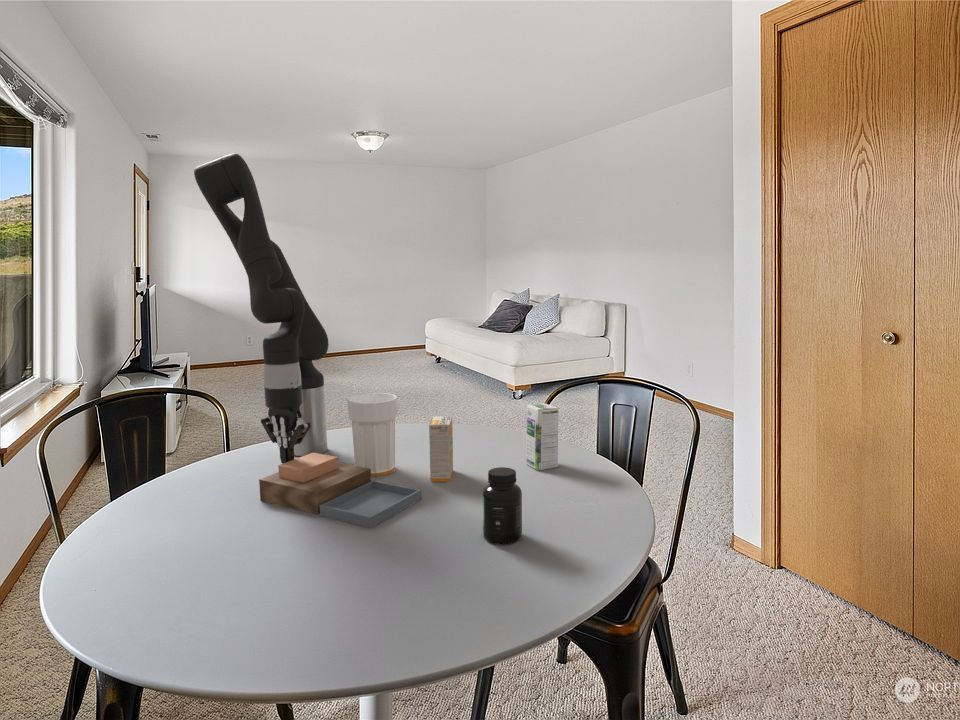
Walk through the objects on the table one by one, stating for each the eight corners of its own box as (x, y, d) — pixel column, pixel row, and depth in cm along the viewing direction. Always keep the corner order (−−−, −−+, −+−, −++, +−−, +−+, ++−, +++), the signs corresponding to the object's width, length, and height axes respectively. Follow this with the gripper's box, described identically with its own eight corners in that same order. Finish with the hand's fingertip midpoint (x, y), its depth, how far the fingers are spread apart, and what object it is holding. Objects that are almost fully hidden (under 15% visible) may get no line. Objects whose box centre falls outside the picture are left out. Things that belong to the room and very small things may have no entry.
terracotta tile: (279, 477, 132) (278, 465, 131) (313, 463, 140) (313, 452, 140) (303, 482, 128) (303, 470, 128) (337, 468, 137) (337, 456, 136)
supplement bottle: (476, 540, 111) (475, 474, 109) (494, 526, 117) (493, 463, 115) (512, 548, 108) (511, 480, 106) (528, 533, 114) (528, 468, 112)
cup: (390, 480, 142) (387, 403, 140) (343, 477, 145) (339, 402, 142) (406, 464, 153) (403, 393, 151) (361, 461, 155) (358, 392, 153)
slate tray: (320, 515, 123) (319, 505, 123) (373, 489, 137) (372, 480, 136) (371, 527, 117) (370, 517, 116) (421, 499, 130) (421, 489, 130)
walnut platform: (260, 500, 131) (259, 479, 130) (316, 477, 145) (315, 458, 144) (318, 514, 123) (317, 492, 122) (371, 488, 137) (370, 468, 136)
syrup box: (525, 464, 152) (525, 404, 150) (546, 460, 154) (546, 402, 152) (537, 471, 147) (537, 409, 145) (559, 467, 149) (559, 407, 147)
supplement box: (451, 482, 140) (450, 424, 138) (429, 482, 140) (428, 424, 138) (454, 470, 148) (452, 415, 146) (433, 470, 149) (432, 415, 147)
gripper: (246, 384, 134) (252, 463, 137) (291, 389, 128) (296, 473, 130) (274, 378, 141) (279, 454, 143) (318, 383, 134) (322, 462, 137)
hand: (287, 463), depth 137 cm, fingers closed
